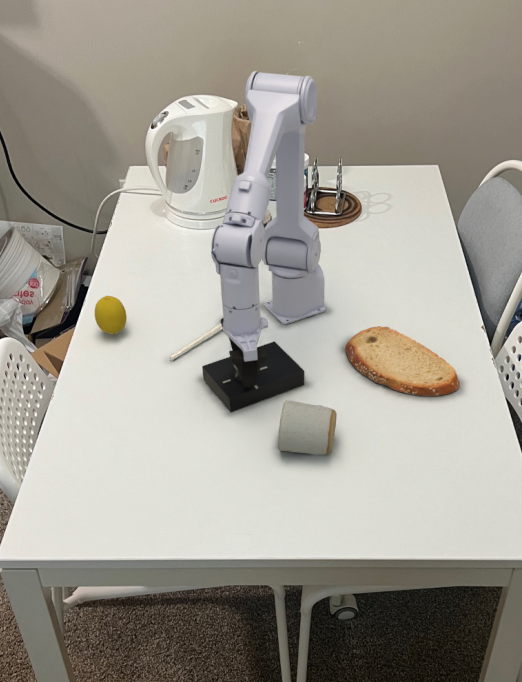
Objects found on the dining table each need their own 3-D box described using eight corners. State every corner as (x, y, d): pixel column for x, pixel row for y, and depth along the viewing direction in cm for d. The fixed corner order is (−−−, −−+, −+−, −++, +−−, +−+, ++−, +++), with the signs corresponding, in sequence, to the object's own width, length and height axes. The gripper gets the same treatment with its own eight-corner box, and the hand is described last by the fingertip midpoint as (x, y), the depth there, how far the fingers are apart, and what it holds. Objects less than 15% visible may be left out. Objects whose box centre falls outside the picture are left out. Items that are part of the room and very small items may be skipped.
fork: (165, 357, 132) (163, 349, 130) (242, 310, 143) (241, 301, 142) (177, 364, 130) (176, 356, 129) (254, 316, 141) (254, 307, 140)
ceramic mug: (331, 466, 111) (333, 426, 106) (277, 460, 112) (276, 421, 107) (338, 420, 119) (340, 382, 114) (287, 416, 120) (287, 377, 115)
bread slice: (463, 395, 123) (466, 377, 121) (355, 400, 122) (356, 382, 120) (439, 334, 137) (442, 316, 134) (342, 338, 136) (343, 321, 133)
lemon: (123, 344, 135) (115, 306, 130) (94, 340, 136) (85, 302, 130) (133, 327, 139) (127, 289, 134) (105, 324, 140) (98, 286, 134)
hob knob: (231, 369, 124) (230, 350, 121) (255, 366, 125) (254, 347, 122) (235, 384, 121) (233, 364, 118) (259, 380, 122) (258, 361, 119)
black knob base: (274, 354, 132) (274, 340, 130) (304, 385, 126) (304, 370, 124) (203, 380, 127) (201, 365, 125) (230, 413, 120) (229, 398, 118)
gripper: (276, 322, 109) (278, 394, 118) (257, 272, 119) (260, 342, 128) (228, 328, 108) (233, 401, 117) (214, 278, 118) (219, 348, 127)
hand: (245, 371), depth 122 cm, fingers open, 7 cm apart
